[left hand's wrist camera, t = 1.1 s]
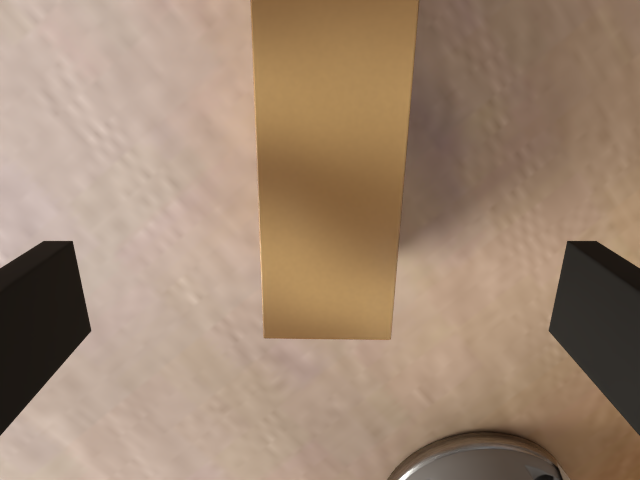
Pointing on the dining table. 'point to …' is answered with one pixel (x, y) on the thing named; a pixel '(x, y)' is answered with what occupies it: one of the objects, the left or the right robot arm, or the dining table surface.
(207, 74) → the dining table surface
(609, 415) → the dining table surface
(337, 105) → the bar
